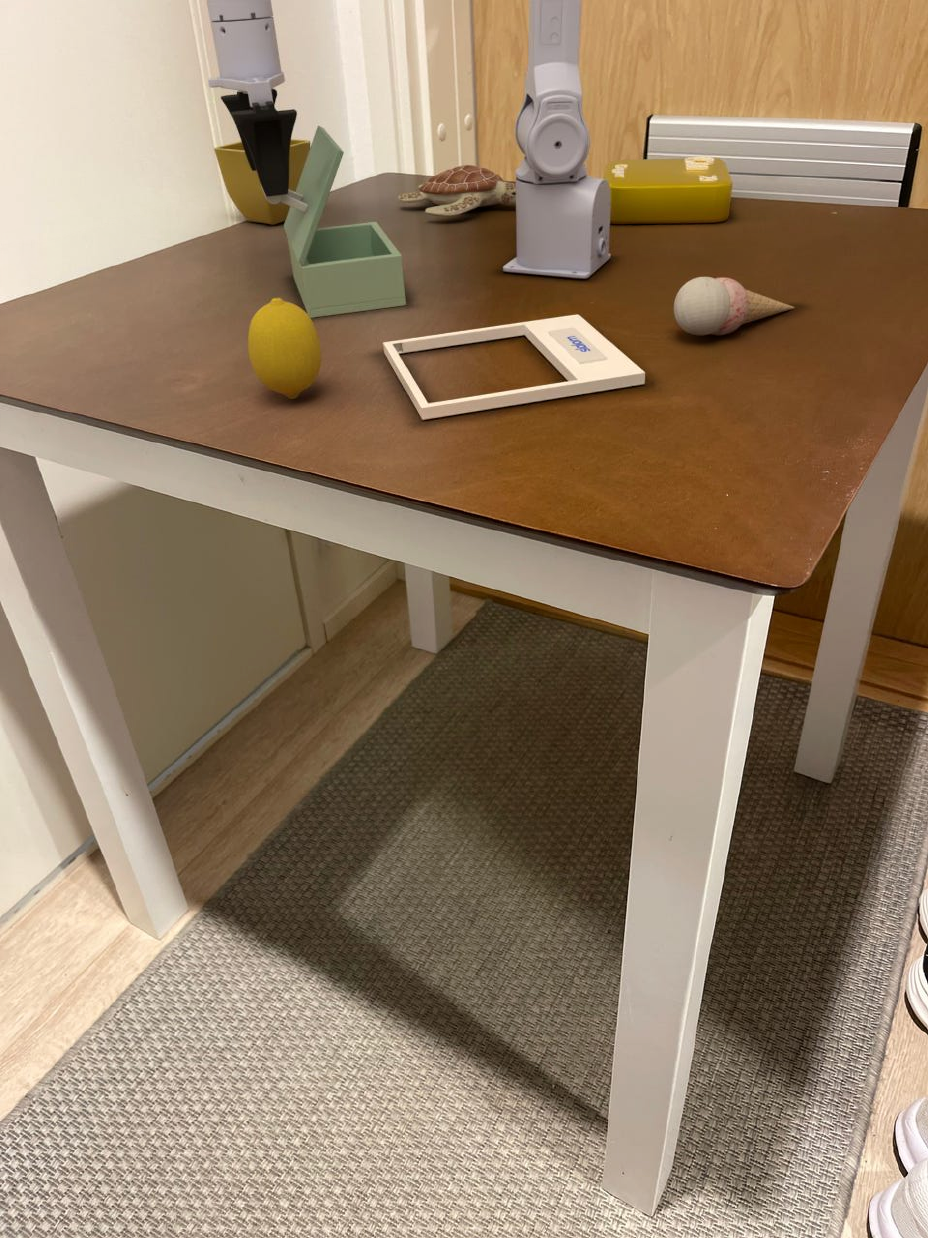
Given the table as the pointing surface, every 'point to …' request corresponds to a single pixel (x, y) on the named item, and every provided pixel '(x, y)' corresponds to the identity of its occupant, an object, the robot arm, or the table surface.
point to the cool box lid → (310, 193)
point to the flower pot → (257, 181)
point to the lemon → (284, 348)
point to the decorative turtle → (463, 191)
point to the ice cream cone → (720, 306)
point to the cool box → (349, 271)
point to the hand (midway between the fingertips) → (268, 180)
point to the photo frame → (558, 339)
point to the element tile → (669, 190)
